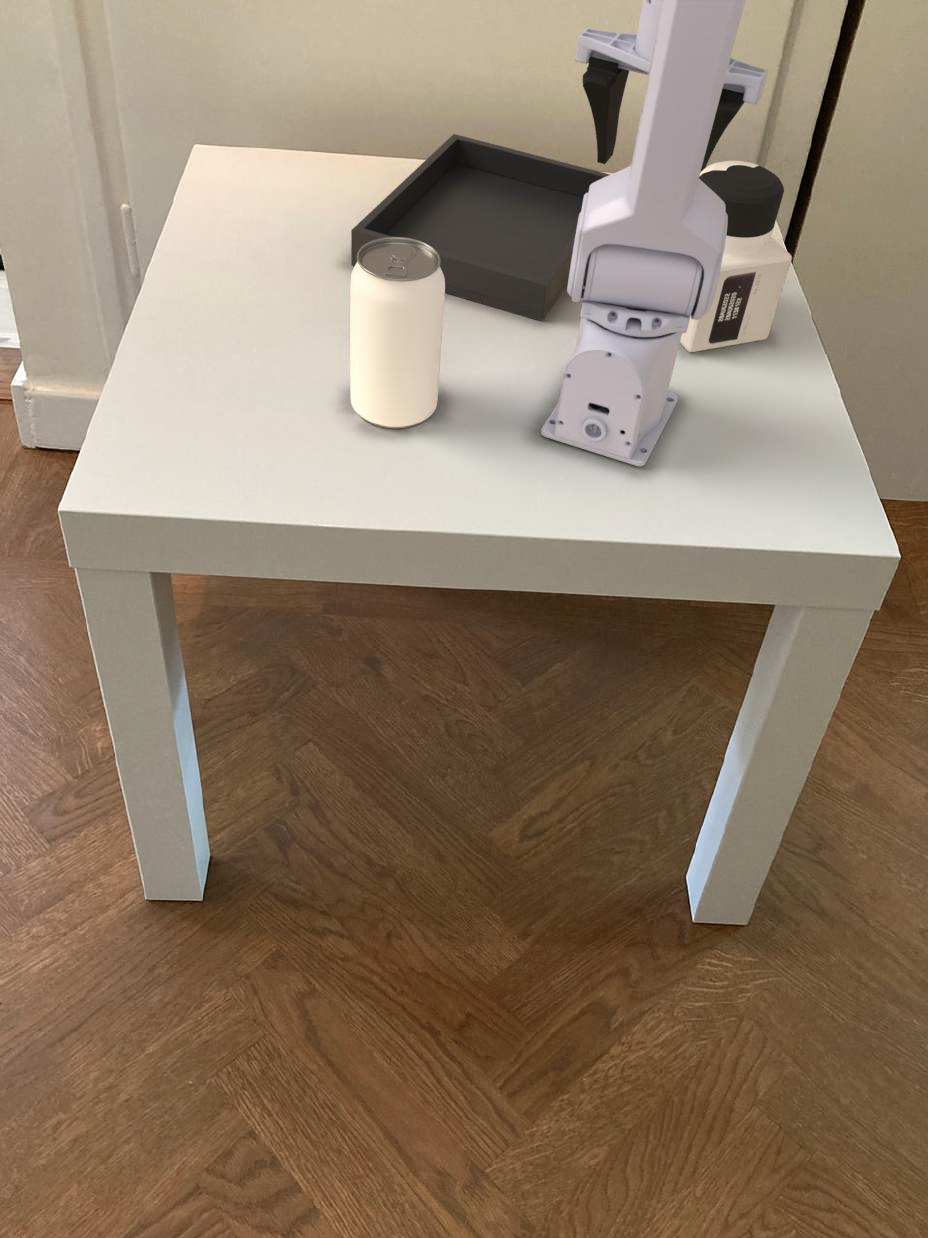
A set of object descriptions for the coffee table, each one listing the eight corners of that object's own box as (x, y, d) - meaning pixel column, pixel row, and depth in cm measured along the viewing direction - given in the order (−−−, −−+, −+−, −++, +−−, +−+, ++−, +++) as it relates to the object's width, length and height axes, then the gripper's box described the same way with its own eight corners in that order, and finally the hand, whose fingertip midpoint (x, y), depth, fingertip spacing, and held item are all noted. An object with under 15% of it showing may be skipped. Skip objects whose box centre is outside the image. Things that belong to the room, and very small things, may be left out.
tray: (542, 321, 95) (547, 285, 93) (351, 265, 99) (351, 229, 97) (621, 211, 109) (627, 178, 107) (451, 166, 113) (453, 133, 111)
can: (441, 384, 88) (451, 239, 79) (431, 436, 84) (441, 288, 75) (357, 374, 88) (358, 228, 79) (343, 425, 84) (342, 276, 75)
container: (769, 340, 96) (814, 191, 86) (688, 354, 93) (726, 202, 84) (721, 292, 100) (760, 145, 91) (643, 304, 98) (675, 155, 89)
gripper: (793, -6, 85) (747, 172, 95) (608, -46, 88) (582, 130, 98) (772, 23, 80) (726, 207, 90) (577, -20, 84) (553, 162, 94)
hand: (649, 170), depth 94 cm, fingers open, 7 cm apart
